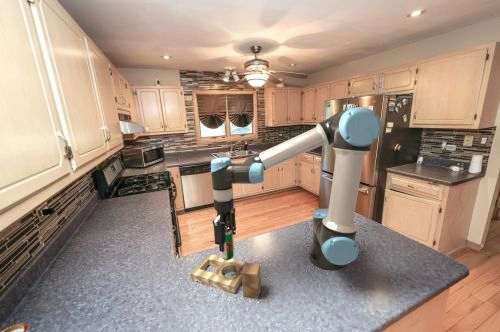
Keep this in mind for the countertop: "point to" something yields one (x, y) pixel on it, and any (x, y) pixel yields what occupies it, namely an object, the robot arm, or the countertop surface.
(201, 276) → the socket board
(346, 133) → the robot arm
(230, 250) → the soda can
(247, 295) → the walnut square peg
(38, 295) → the countertop surface
